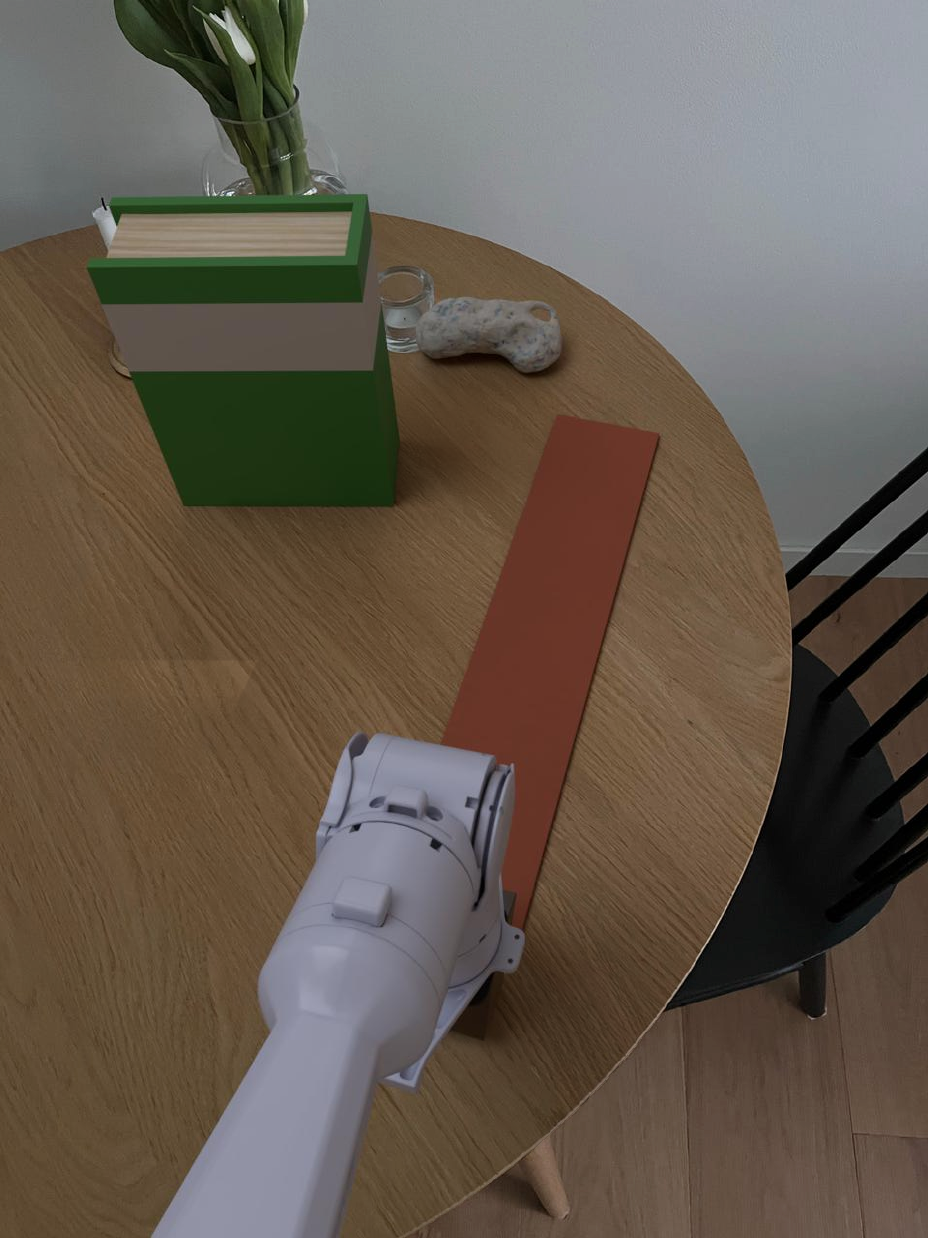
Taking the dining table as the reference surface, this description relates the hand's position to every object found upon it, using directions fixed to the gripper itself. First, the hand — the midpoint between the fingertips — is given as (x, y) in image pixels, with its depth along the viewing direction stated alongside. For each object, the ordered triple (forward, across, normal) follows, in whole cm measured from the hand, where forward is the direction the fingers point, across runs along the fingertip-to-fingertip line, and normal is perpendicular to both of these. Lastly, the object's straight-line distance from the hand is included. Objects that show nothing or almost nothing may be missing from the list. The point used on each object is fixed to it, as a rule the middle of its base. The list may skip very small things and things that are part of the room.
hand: (452, 979), depth 59 cm
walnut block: (+6, 0, 0) cm, 6 cm away
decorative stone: (+7, +56, +14) cm, 58 cm away
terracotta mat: (+7, +27, +2) cm, 28 cm away
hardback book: (+7, +38, +26) cm, 47 cm away
